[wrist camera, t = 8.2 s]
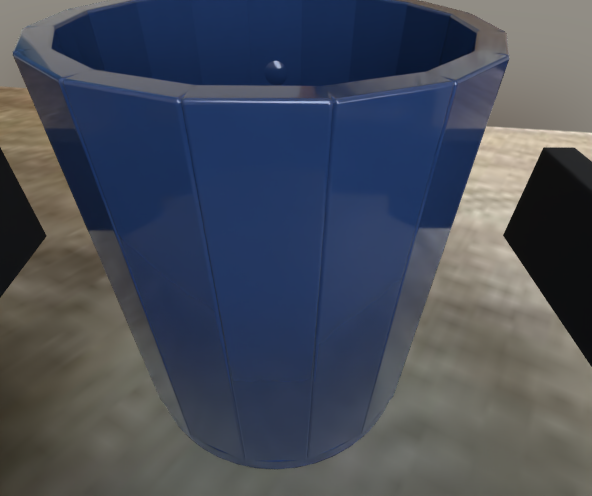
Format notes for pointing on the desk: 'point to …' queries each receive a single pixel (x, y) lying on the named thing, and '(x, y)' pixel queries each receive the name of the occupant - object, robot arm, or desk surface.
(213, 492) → the desk surface
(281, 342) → the mug
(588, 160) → the robot arm
